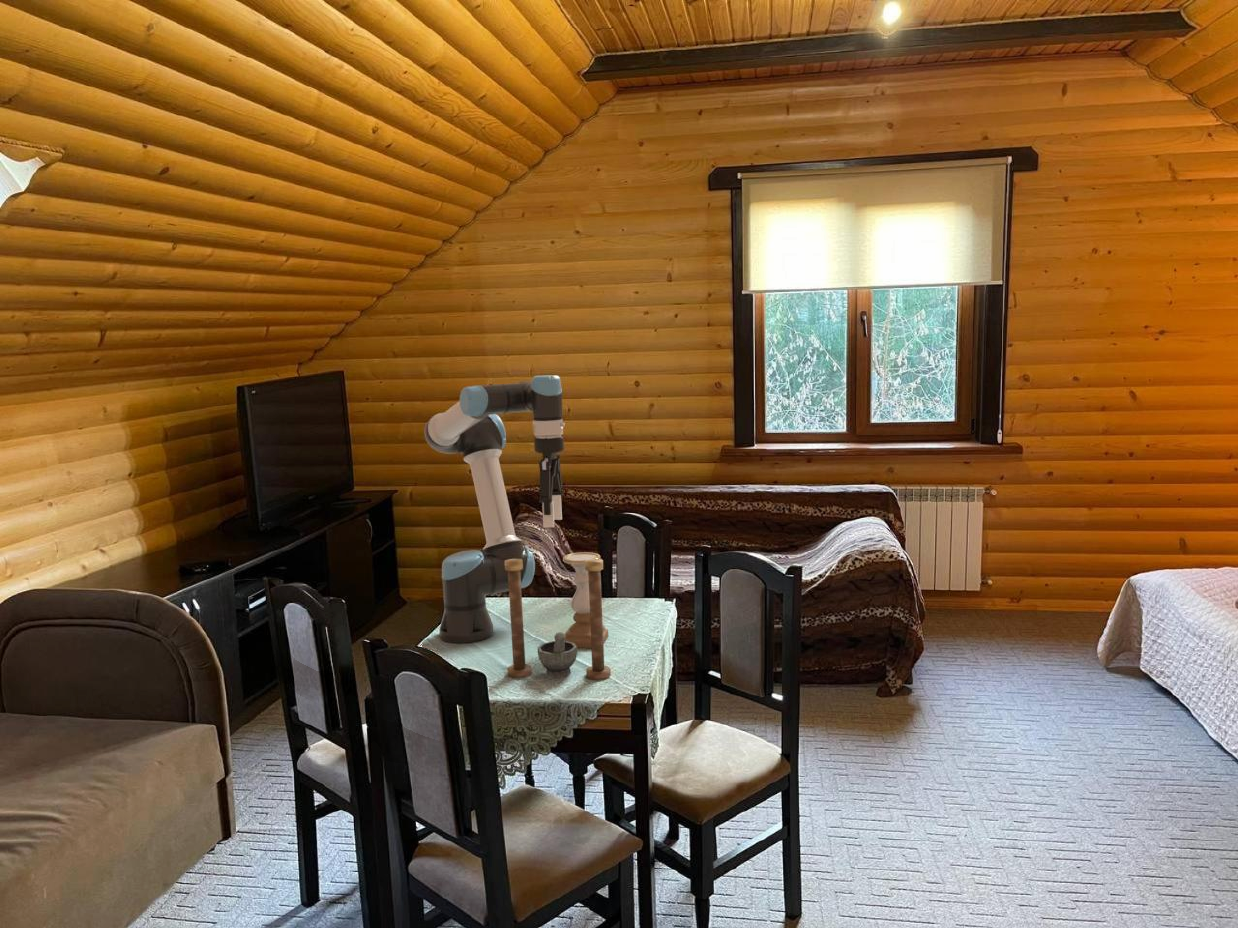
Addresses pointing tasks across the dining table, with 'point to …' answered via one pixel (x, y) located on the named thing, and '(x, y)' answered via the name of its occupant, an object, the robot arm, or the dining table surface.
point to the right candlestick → (596, 621)
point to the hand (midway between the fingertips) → (552, 523)
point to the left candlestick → (516, 620)
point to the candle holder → (581, 602)
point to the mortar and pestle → (557, 656)
